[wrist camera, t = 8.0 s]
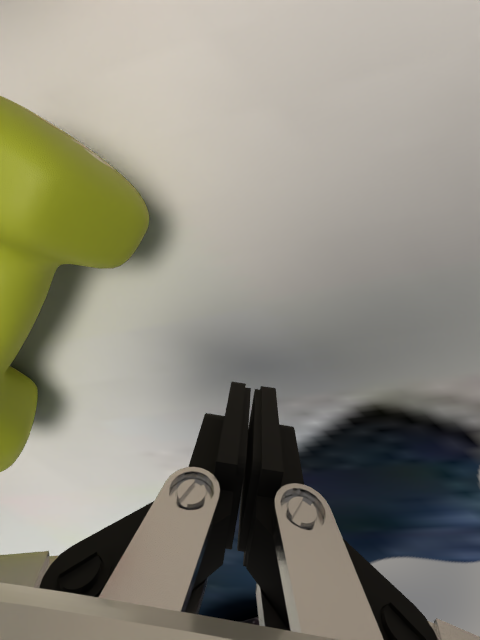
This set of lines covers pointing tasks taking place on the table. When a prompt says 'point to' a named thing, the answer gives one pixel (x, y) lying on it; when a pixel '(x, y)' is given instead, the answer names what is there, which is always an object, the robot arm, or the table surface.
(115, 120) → the table surface
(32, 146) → the dumbbell
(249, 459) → the robot arm
